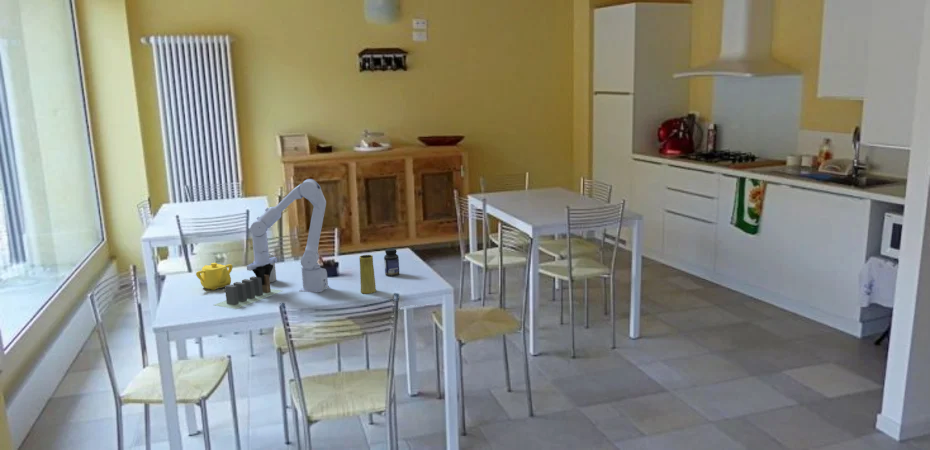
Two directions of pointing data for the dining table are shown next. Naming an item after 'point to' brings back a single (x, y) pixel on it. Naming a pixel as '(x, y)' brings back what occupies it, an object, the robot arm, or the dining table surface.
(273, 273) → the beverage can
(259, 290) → the domino
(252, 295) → the domino
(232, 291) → the domino
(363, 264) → the vase
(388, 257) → the pill bottle
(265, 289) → the domino
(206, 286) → the teapot
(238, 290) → the domino
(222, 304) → the mat
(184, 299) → the dining table surface
